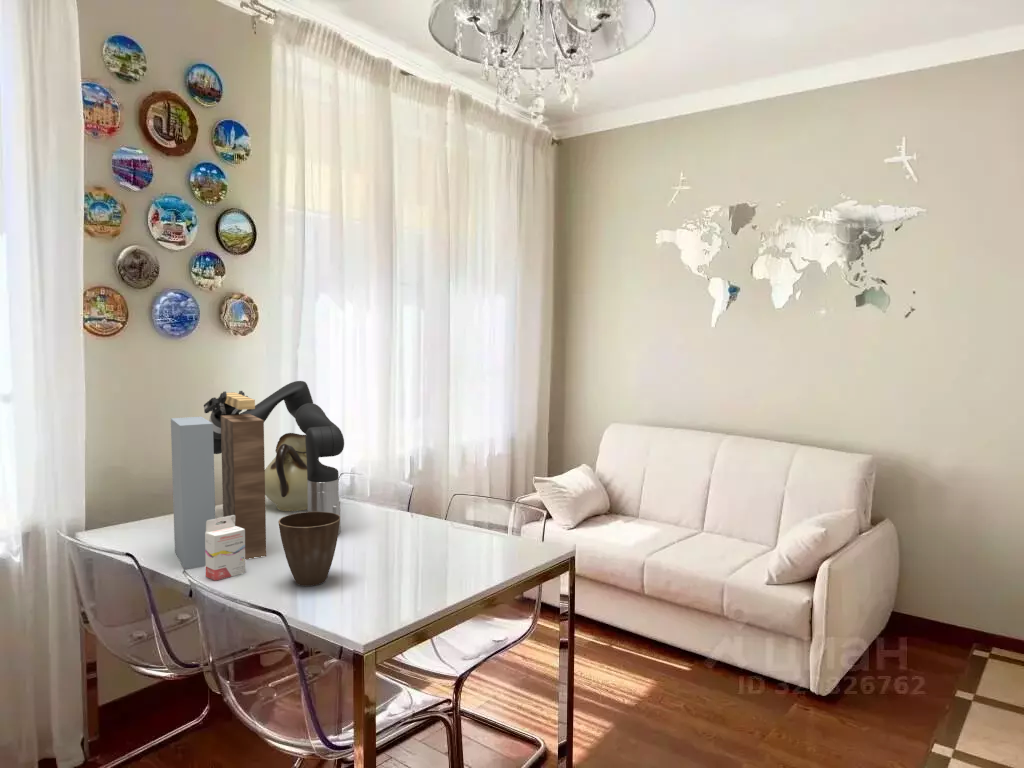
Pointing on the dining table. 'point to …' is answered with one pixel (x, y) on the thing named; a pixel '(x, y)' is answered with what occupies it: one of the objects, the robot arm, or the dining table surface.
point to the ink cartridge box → (224, 548)
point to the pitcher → (288, 474)
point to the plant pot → (309, 545)
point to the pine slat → (239, 401)
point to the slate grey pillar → (192, 487)
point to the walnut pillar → (245, 478)
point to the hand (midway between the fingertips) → (233, 394)
